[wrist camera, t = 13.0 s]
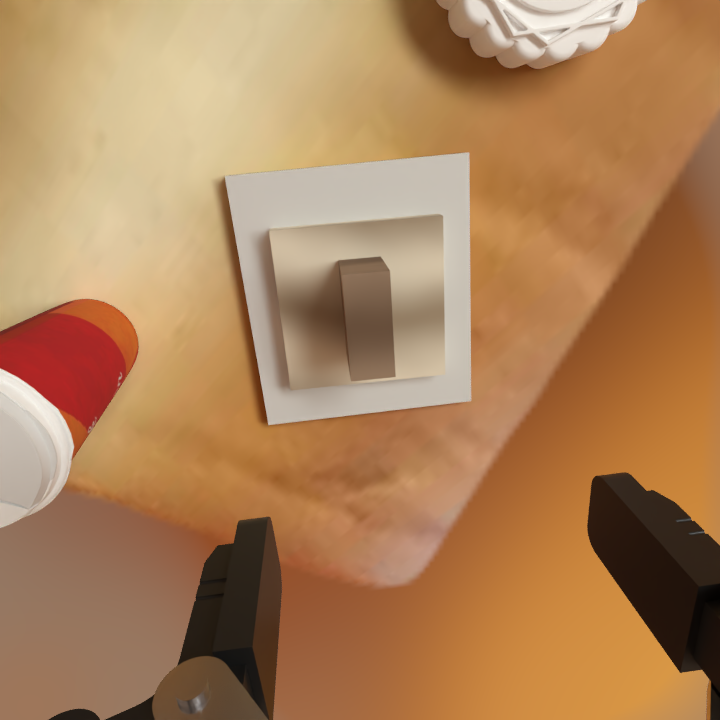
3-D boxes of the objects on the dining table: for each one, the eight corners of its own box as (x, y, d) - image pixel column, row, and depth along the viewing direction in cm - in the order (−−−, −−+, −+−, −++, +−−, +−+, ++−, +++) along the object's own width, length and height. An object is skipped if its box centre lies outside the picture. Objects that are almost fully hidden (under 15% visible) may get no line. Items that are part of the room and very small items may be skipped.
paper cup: (50, 401, 34) (-111, 554, 21) (11, 288, 31) (-204, 383, 18) (170, 388, 34) (84, 530, 21) (142, 274, 32) (23, 359, 19)
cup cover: (270, 228, 30) (262, 242, 26) (438, 213, 31) (461, 224, 26) (291, 382, 34) (288, 420, 29) (440, 367, 35) (461, 401, 30)
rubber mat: (226, 175, 30) (224, 176, 29) (465, 152, 30) (469, 152, 30) (269, 419, 36) (268, 425, 35) (467, 395, 36) (471, 400, 36)
